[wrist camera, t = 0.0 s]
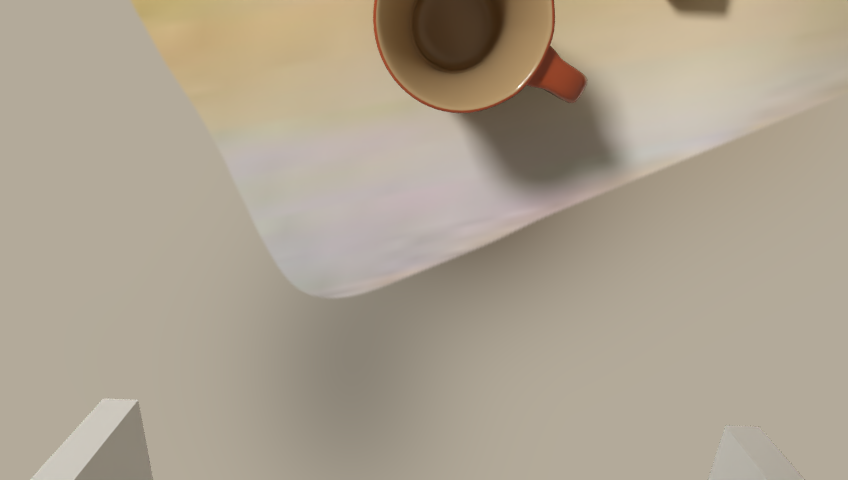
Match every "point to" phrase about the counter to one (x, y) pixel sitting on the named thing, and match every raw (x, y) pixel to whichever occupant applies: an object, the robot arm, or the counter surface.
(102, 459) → the robot arm
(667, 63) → the counter surface
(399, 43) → the mug
